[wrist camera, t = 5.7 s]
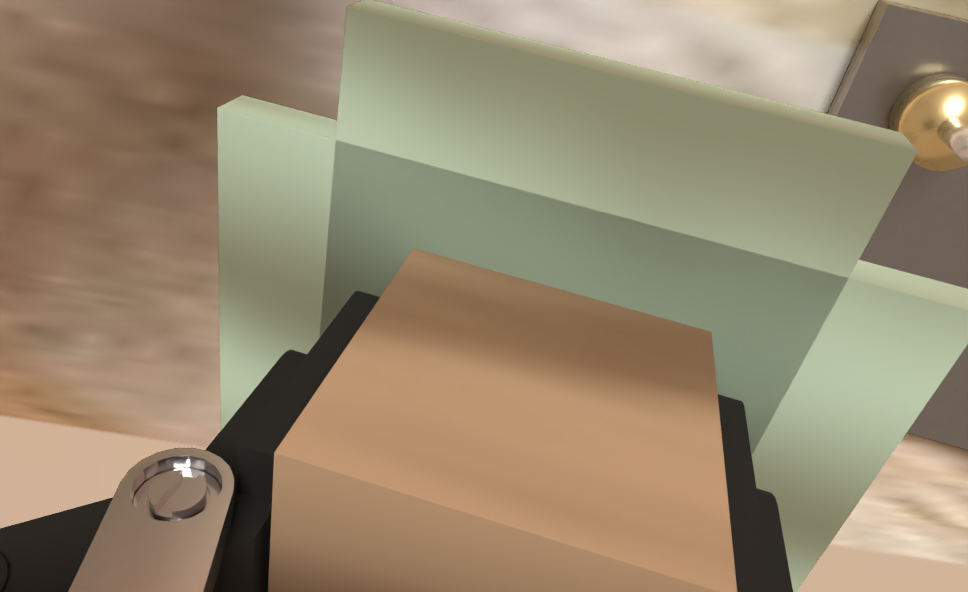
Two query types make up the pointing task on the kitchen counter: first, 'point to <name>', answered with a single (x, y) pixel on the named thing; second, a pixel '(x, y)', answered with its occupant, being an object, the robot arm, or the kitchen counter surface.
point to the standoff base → (920, 166)
